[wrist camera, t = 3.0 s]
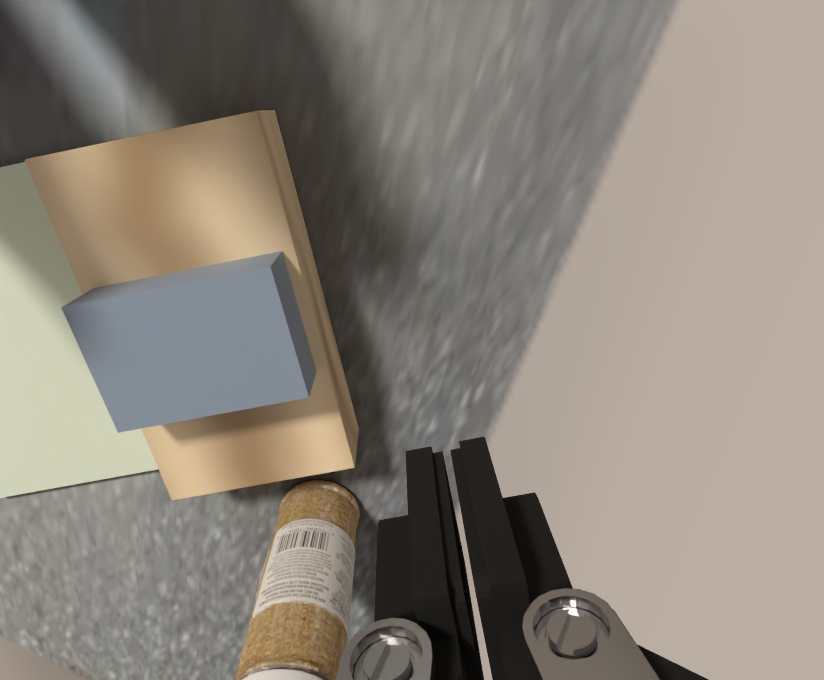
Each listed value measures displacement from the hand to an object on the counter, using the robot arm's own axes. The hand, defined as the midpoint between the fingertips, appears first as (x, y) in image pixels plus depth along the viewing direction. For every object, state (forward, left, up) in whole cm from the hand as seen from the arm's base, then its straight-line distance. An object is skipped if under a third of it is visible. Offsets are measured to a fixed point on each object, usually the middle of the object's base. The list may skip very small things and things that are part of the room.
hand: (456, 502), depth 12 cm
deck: (+9, -1, -17) cm, 19 cm away
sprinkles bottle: (+8, +12, -17) cm, 22 cm away
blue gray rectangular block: (+9, -1, -13) cm, 16 cm away
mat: (+19, -1, -17) cm, 25 cm away
